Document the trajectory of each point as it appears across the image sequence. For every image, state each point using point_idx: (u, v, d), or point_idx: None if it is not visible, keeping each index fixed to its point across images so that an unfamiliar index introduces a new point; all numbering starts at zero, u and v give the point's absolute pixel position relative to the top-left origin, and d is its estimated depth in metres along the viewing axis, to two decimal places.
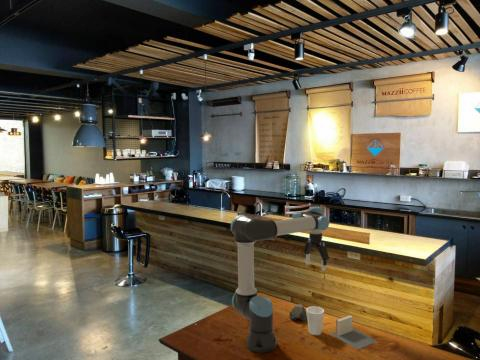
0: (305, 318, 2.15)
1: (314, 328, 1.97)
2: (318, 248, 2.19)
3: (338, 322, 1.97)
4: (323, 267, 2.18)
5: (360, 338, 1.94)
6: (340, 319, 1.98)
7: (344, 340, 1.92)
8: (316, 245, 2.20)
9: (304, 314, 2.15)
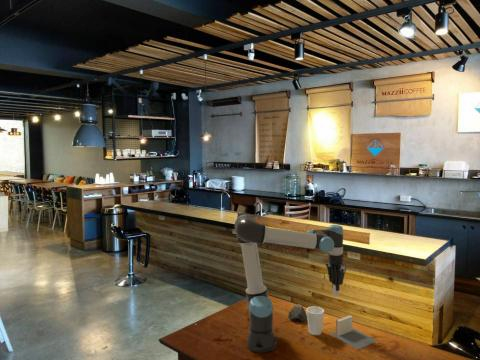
0: (304, 318, 2.15)
1: (314, 328, 1.97)
2: (336, 272, 2.01)
3: (338, 322, 1.97)
4: (336, 292, 2.03)
5: (360, 338, 1.94)
6: (340, 319, 1.98)
7: (344, 340, 1.92)
8: (336, 268, 2.01)
9: (303, 314, 2.15)
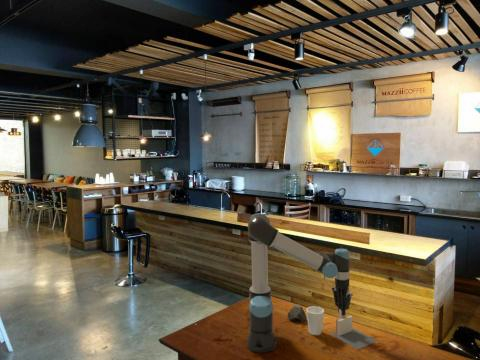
0: (303, 318, 2.15)
1: (314, 328, 1.97)
2: (342, 297, 1.98)
3: (338, 322, 1.97)
4: None
5: (360, 338, 1.94)
6: (340, 319, 1.98)
7: (344, 340, 1.92)
8: (342, 293, 1.98)
9: (302, 314, 2.15)
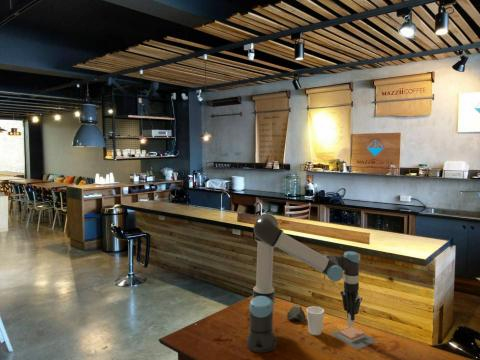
0: (303, 319, 2.14)
1: (314, 328, 1.97)
2: (351, 301, 1.93)
3: (349, 340, 1.91)
4: (351, 322, 1.95)
5: None
6: (353, 339, 1.91)
7: (344, 340, 1.92)
8: (351, 297, 1.92)
9: (302, 315, 2.15)
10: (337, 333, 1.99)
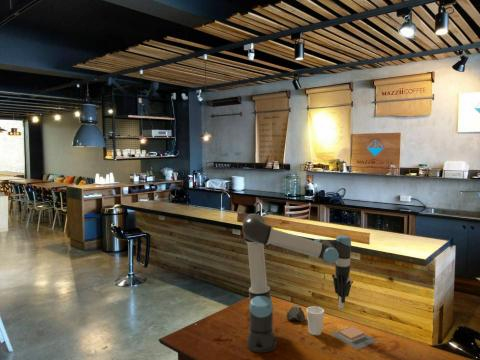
0: (302, 319, 2.14)
1: (314, 328, 1.97)
2: (342, 284, 1.97)
3: (349, 340, 1.91)
4: (341, 304, 2.00)
5: None
6: (353, 339, 1.91)
7: (344, 340, 1.92)
8: (342, 280, 1.97)
9: (301, 315, 2.15)
10: (337, 333, 1.99)
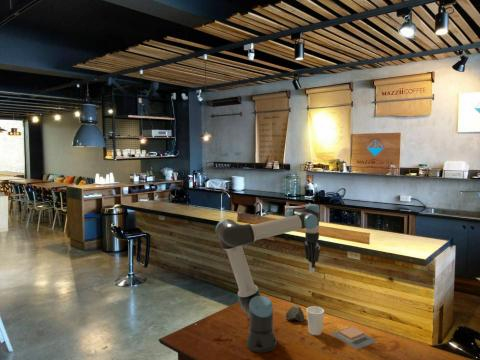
0: (301, 319, 2.14)
1: (314, 328, 1.97)
2: (312, 249, 2.08)
3: (349, 340, 1.91)
4: (312, 269, 2.10)
5: None
6: (353, 339, 1.91)
7: (344, 340, 1.92)
8: (311, 246, 2.08)
9: (300, 315, 2.14)
10: (337, 333, 1.99)
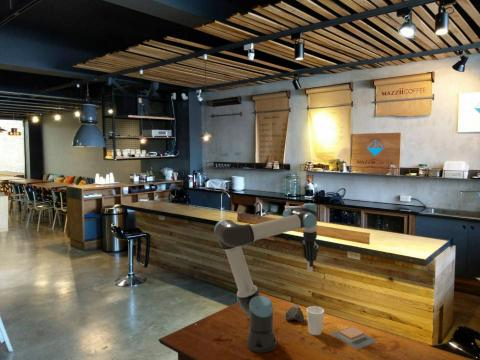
0: (301, 319, 2.14)
1: (314, 328, 1.97)
2: (310, 248, 2.09)
3: (349, 340, 1.91)
4: (310, 268, 2.11)
5: None
6: (353, 339, 1.91)
7: (344, 340, 1.92)
8: (309, 245, 2.08)
9: (300, 315, 2.14)
10: (337, 333, 1.99)
